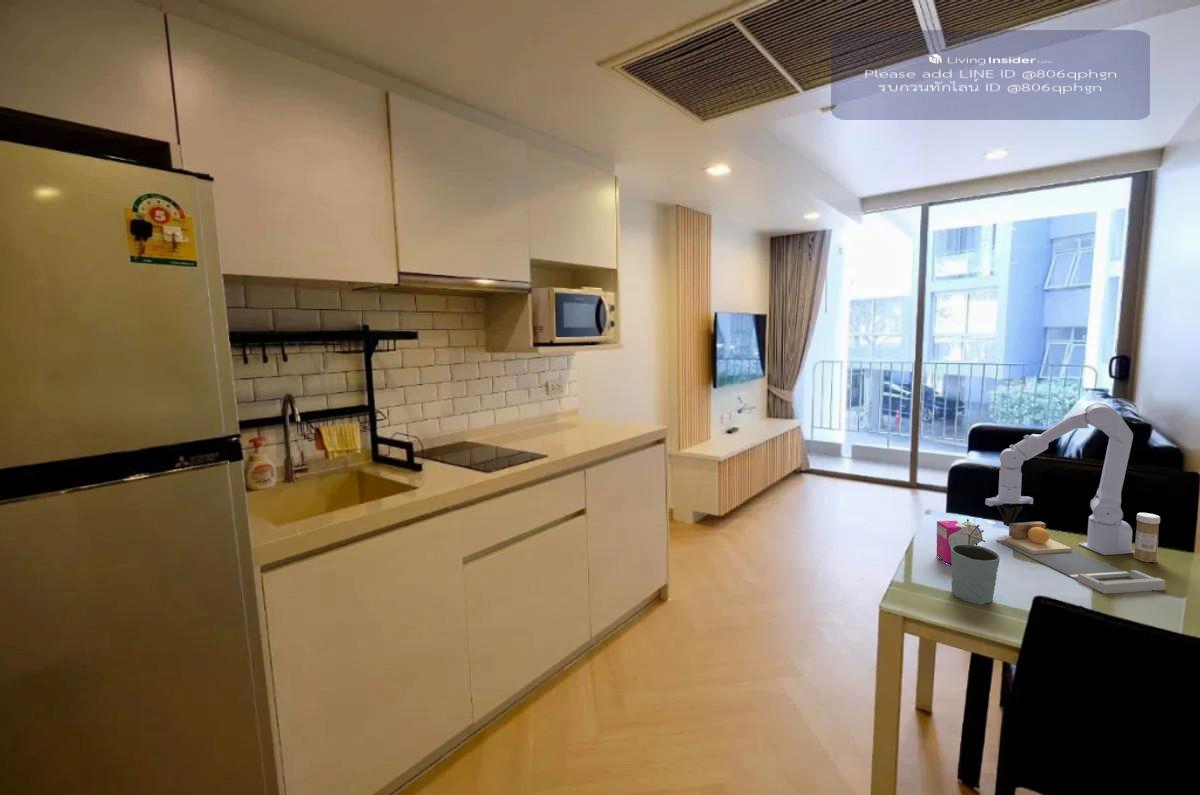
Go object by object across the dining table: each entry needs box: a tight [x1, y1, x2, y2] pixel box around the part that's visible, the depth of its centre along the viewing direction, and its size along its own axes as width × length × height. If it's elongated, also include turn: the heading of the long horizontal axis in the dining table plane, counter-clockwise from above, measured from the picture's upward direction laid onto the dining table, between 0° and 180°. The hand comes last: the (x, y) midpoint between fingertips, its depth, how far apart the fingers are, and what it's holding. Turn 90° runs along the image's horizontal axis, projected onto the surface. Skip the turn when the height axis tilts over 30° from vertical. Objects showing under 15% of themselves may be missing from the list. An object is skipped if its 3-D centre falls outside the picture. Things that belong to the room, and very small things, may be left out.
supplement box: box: [936, 520, 968, 565], centre depth 152 cm, size 6×6×12 cm
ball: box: [1028, 527, 1050, 544], centre depth 158 cm, size 5×5×5 cm
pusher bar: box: [1008, 521, 1046, 538], centre depth 162 cm, size 10×2×4 cm, turn 92°
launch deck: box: [996, 536, 1166, 595], centre depth 147 cm, size 16×34×2 cm, turn 2°
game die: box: [961, 518, 986, 546], centre depth 161 cm, size 9×8×10 cm
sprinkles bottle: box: [1133, 512, 1161, 563], centre depth 146 cm, size 5×5×13 cm
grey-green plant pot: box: [950, 544, 1001, 604], centre depth 132 cm, size 10×10×12 cm
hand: (1008, 525), depth 169 cm, fingers closed
